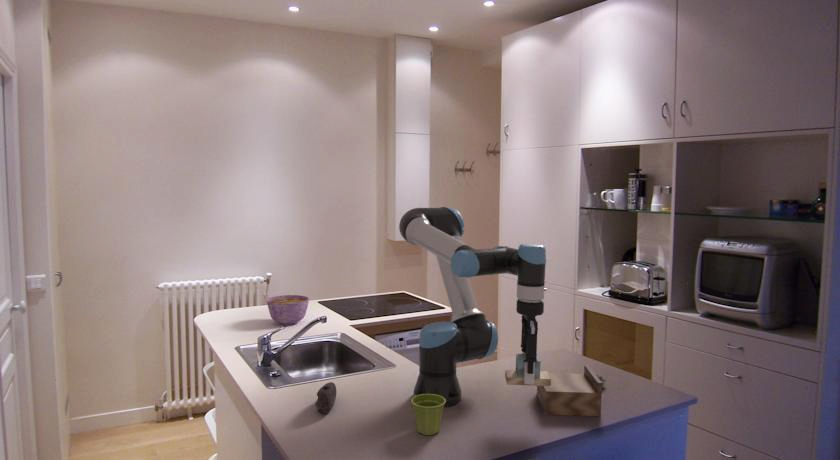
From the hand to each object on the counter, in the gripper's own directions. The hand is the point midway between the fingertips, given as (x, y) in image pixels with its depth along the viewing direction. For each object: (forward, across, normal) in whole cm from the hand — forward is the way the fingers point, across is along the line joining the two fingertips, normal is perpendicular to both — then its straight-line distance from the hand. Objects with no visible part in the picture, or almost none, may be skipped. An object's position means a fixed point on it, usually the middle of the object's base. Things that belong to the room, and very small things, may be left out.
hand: (527, 379), depth 155 cm
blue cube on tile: (+1, 0, 0) cm, 1 cm away
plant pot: (+13, -8, +28) cm, 32 cm away
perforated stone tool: (+13, +6, +59) cm, 60 cm away
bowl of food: (+15, +102, +100) cm, 143 cm away
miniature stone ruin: (+13, +28, -25) cm, 39 cm away
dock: (+12, +12, -14) cm, 23 cm away
